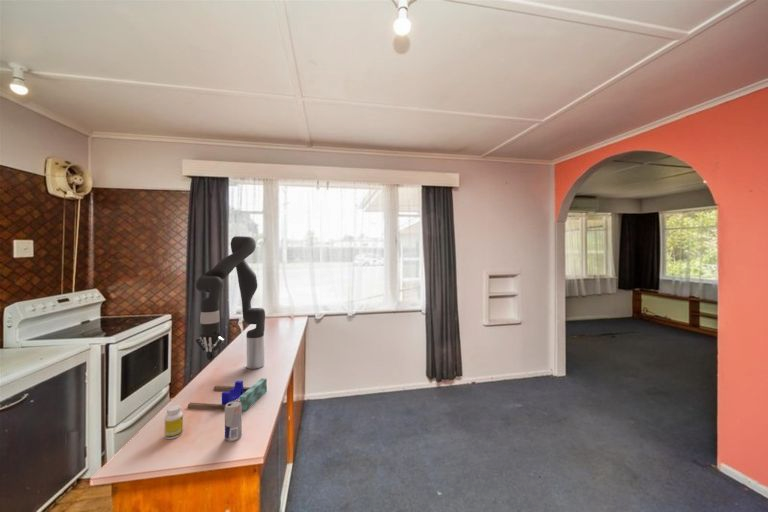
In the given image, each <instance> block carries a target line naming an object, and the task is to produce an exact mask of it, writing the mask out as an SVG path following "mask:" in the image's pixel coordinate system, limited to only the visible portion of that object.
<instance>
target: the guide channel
mask: <svg viewBox="0 0 768 512" xmlns="http://www.w3.org/2000/svg"><path fill="white" fill-rule="evenodd" d="M267 380H268V379H267V378H260V379H259V380H258V381H256V382H255V383H254V384H253V385H251V386H243V394H242V395H241V396H240V397H239V401H240V402H241V404H242V412H246V411H248V410H249V409H250V408H251V407H252V406H253V405H252V404H255V403H256V402H257V401H258V400H260V398H261V397H262V396H264V395H265V393H266V392H267V390H268V388H267V387H268V386H267V383H268V382H267ZM233 387H235V385H214V386H213V391H223V390H231V389H232V388H233ZM251 405H252V406H251ZM250 406H251V407H250ZM188 407H189V408H188ZM187 408H188V409H198V408H202V410H203V408H204V410H215V409H221V410H220V411H225V405H224V404H222V403H221V404H220V403H204V402H202V403H201V402H189V403H187Z"/></svg>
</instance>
